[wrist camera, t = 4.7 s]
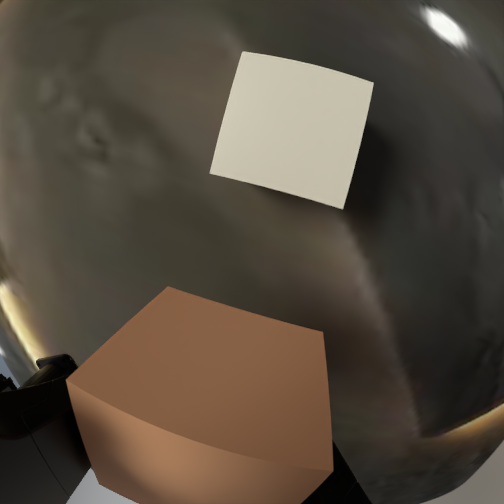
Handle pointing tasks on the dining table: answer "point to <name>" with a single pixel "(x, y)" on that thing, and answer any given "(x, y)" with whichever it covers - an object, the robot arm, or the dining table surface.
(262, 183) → the off-white cube
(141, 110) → the dining table surface
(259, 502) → the terracotta cube
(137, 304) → the dining table surface
